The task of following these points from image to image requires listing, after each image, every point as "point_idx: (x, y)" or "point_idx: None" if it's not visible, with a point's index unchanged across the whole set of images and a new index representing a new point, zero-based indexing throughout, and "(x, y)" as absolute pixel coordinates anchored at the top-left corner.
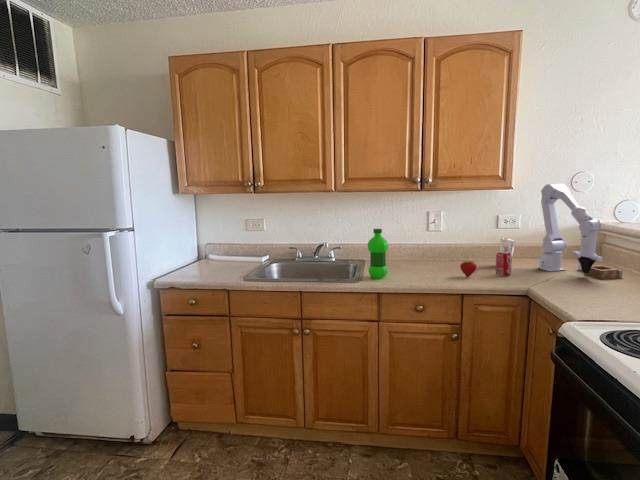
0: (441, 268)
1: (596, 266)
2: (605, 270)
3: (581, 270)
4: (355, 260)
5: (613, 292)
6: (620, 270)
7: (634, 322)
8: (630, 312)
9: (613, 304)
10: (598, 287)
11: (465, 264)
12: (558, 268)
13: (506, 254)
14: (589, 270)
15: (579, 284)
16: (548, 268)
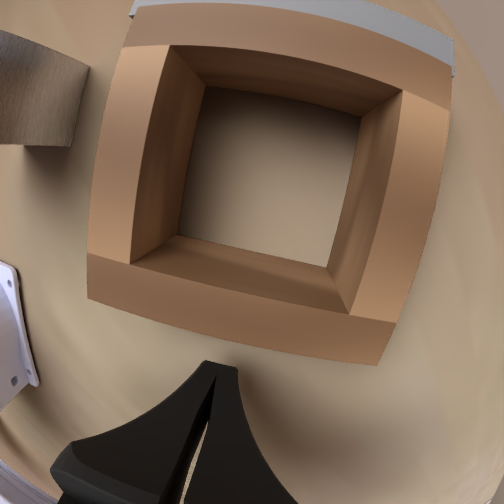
0: None
1: (144, 139)
2: (404, 303)
3: (44, 145)
4: None
5: (472, 452)
6: (447, 53)
7: (491, 499)
8: (493, 488)
9: (469, 494)
10: (415, 461)
11: None
12: (11, 326)
13: None
14: (237, 389)
15: (330, 489)
16: (21, 382)
